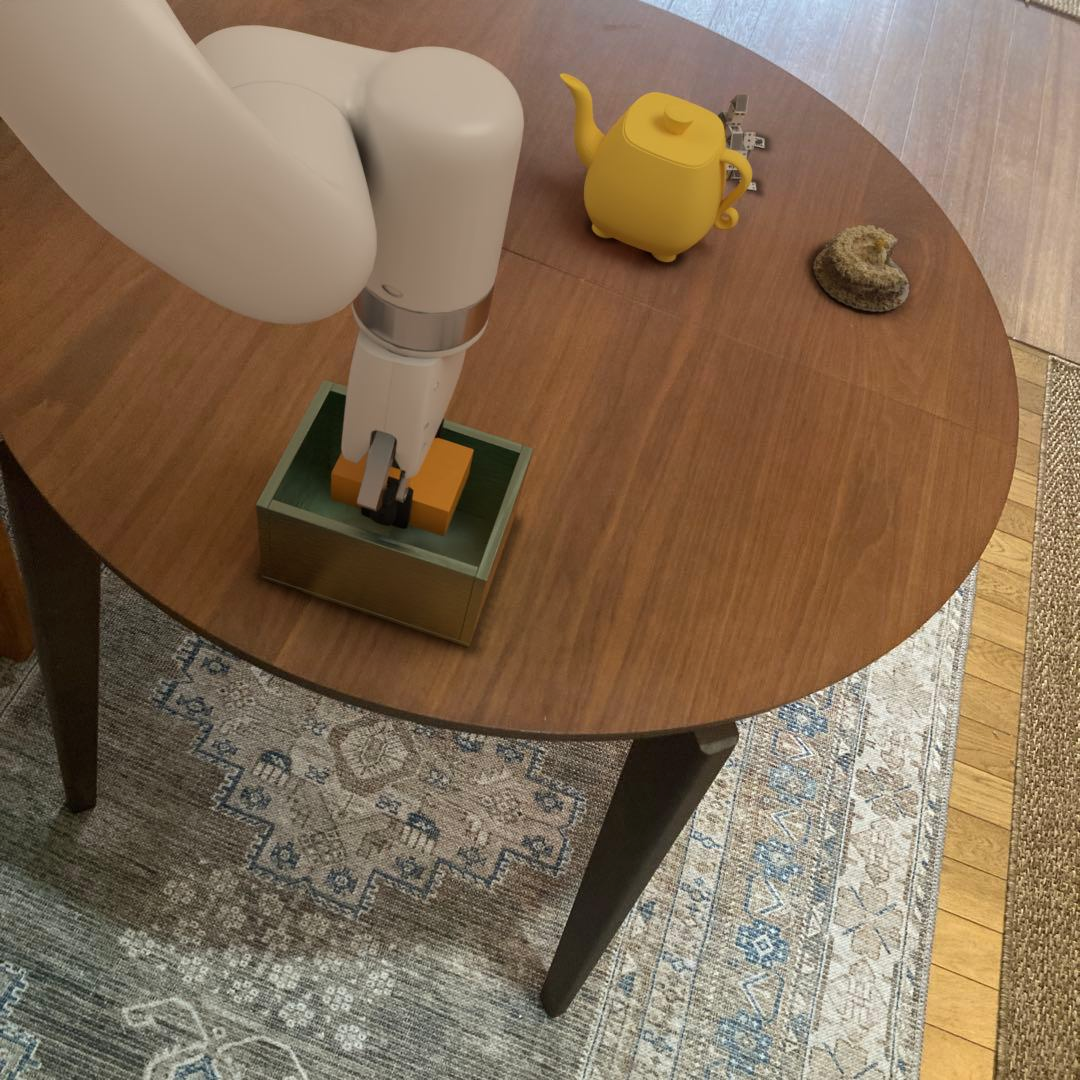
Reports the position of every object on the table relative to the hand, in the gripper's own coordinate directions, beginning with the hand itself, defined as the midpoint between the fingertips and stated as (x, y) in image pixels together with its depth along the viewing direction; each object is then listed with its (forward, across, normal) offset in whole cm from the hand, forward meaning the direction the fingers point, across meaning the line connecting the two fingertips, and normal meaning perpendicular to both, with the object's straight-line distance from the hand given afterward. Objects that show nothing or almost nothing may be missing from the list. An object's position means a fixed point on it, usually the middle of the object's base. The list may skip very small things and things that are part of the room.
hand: (400, 482), depth 70 cm
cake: (+9, -48, +33) cm, 58 cm away
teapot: (+9, -46, +9) cm, 47 cm away
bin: (+9, 0, 0) cm, 9 cm away
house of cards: (+9, -60, +18) cm, 63 cm away
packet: (0, 0, 0) cm, 0 cm away
